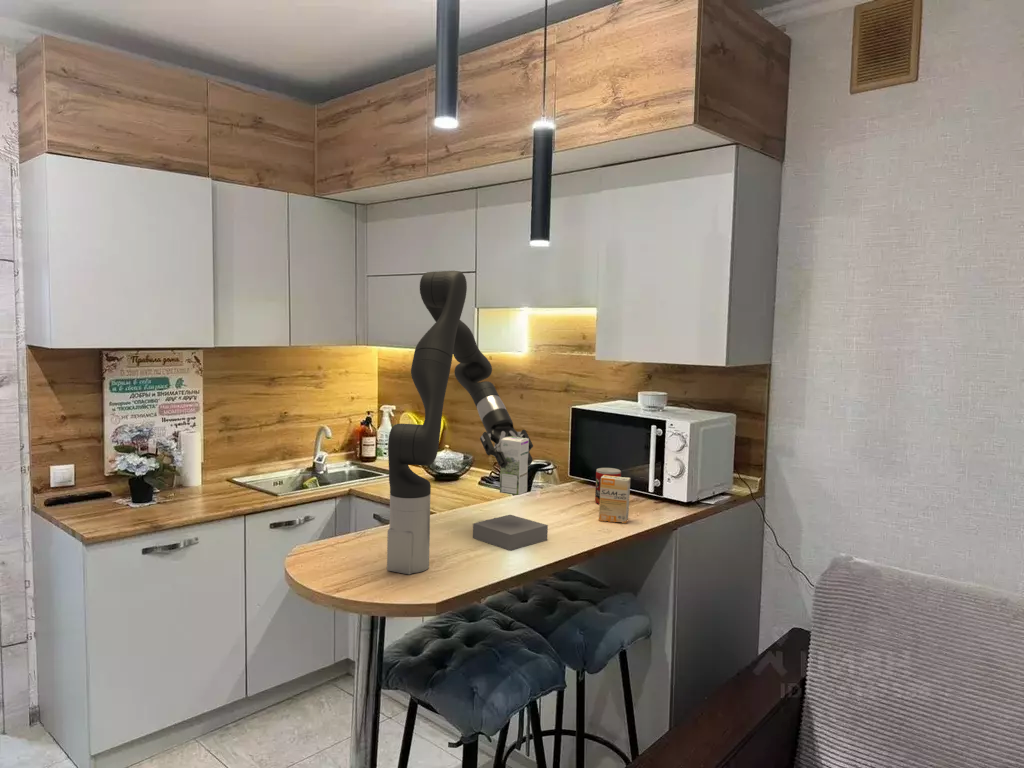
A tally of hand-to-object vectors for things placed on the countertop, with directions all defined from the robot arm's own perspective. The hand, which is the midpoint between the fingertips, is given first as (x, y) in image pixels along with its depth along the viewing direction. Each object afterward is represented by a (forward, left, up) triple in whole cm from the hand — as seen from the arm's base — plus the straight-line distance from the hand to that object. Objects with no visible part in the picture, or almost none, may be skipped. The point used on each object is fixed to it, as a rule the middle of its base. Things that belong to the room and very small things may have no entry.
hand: (517, 465), depth 187 cm
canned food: (+53, -9, -20) cm, 57 cm away
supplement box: (+33, -17, -20) cm, 42 cm away
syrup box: (+1, +1, -8) cm, 8 cm away
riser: (+1, +2, -20) cm, 20 cm away
